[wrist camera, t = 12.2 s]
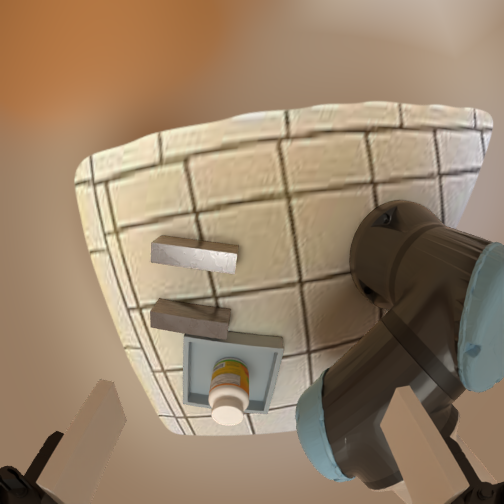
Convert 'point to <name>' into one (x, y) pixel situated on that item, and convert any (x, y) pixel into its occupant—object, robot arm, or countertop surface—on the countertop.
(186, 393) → the grey tray
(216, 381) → the supplement bottle
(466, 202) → the countertop surface
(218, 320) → the steel jaws
